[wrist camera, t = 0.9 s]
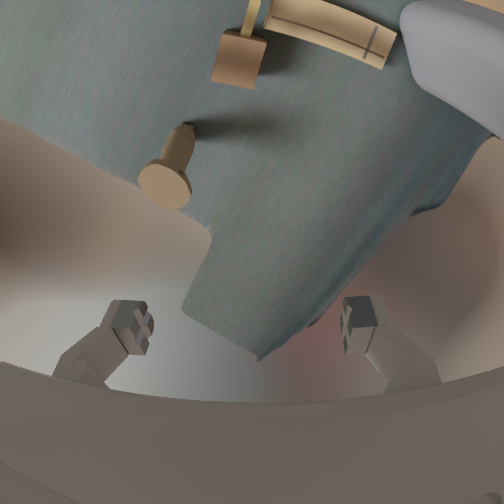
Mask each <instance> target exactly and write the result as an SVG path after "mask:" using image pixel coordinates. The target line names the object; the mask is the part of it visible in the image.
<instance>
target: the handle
mask: <svg viewBox="0 0 504 504" xmlns="http://www.w3.org/2000/svg"><path fill="white" fill-rule="evenodd" d="M194 145H195V134H194V127H193V126H192V125H187V124H185V123H181V124H180V125H179V126H178V127H176V128H175V129H174V130H173V132H172V133H171V134H170V136H169V137H168V139H167V141H166V143H165V145H164V148H163V151H162V155H161V158H160V159H155V160H152V161H150V162H149V163H147V164H146V165H145V166H144V167H143V169H142V170H141V172H140V174H139V177H138V182H139V184H140V187H141V189H142V191H143V192H144V194H145V195H146V196H147V197H148V198H149V199H151V200H152V201H153V202H154V203H155V204H157V205H159V206H161V207H164V208H167V209H169V210H175V209H179V208H181V207H183V206H184V205H186V204H187V203H188V202H189V200H190V198H191V194H192V188H191V185H190V182H189V180H188V178H187V176H186V174H185V170H186V167H187V165H188V162H189V160H190V158H191V156H192V153H193V150H194Z"/></svg>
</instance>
